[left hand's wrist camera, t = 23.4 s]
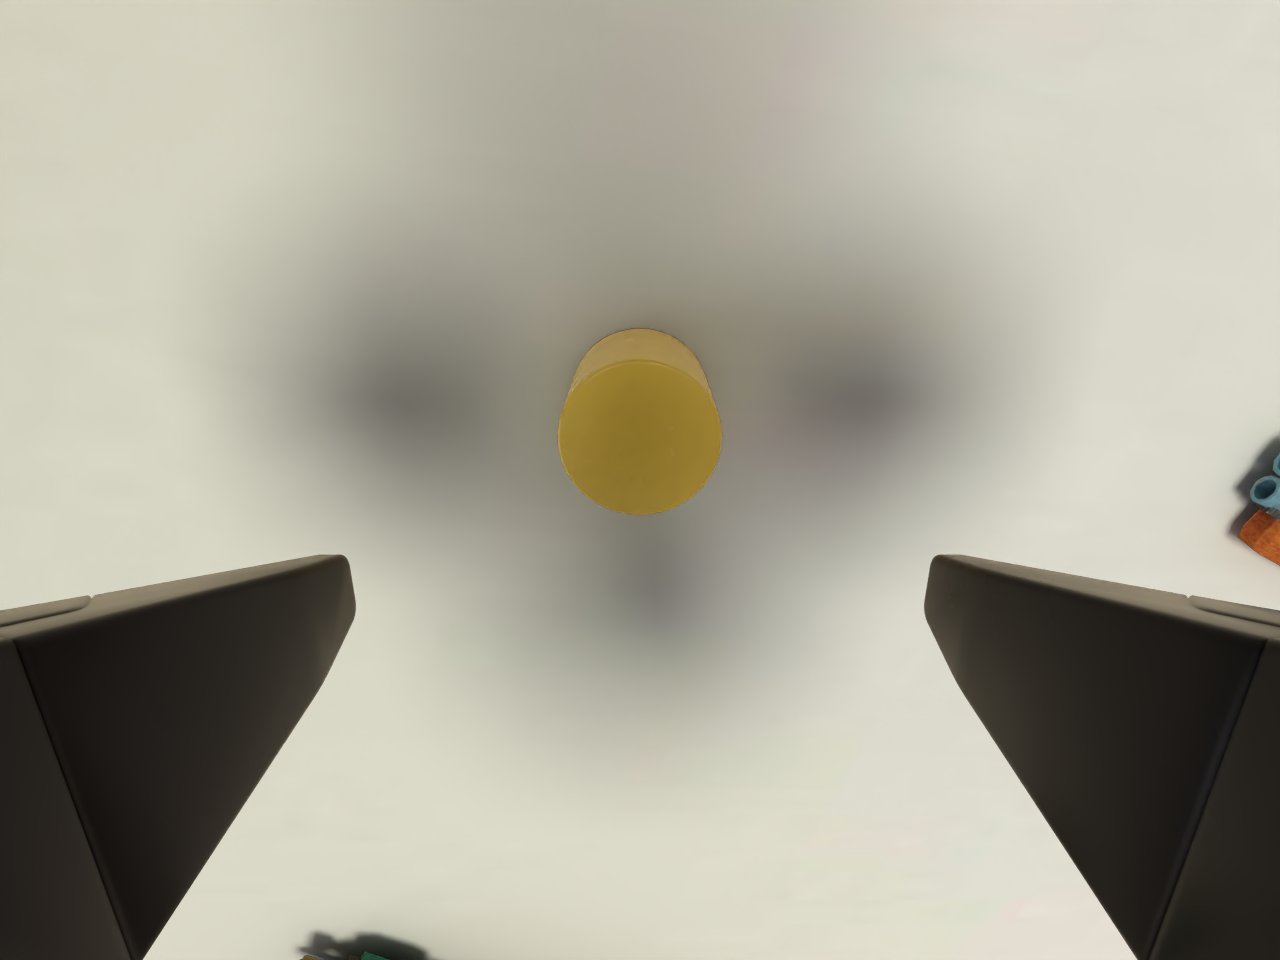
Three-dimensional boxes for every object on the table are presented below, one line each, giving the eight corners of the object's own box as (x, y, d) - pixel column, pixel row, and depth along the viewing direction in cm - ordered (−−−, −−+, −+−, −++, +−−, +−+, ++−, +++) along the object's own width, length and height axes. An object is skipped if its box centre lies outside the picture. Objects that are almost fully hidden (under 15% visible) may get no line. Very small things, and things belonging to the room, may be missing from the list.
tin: (655, 299, 20) (659, 324, 16) (734, 410, 21) (753, 458, 18) (544, 381, 21) (523, 423, 17) (625, 483, 22) (622, 544, 18)
